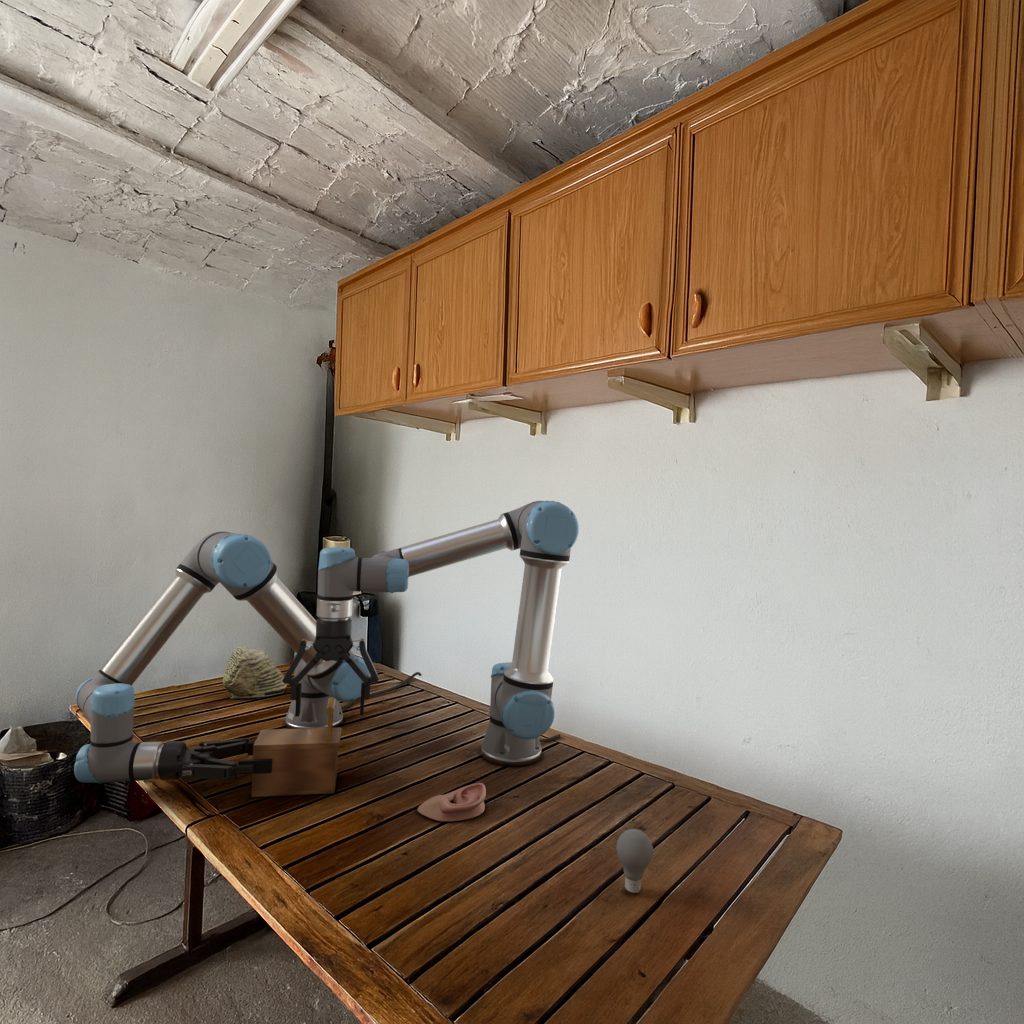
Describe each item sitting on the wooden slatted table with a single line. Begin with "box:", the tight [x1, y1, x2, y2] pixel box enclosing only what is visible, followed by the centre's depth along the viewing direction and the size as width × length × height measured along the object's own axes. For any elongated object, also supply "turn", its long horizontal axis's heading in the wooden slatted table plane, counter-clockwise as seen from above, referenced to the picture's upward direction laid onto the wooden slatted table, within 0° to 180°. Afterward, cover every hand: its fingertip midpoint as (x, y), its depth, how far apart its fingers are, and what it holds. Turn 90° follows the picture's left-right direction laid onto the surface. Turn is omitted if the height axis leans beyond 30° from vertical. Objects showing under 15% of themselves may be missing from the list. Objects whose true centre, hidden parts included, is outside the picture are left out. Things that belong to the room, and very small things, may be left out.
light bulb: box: [615, 828, 654, 894], centre depth 106 cm, size 6×6×10 cm
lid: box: [253, 697, 343, 751], centre depth 138 cm, size 17×9×8 cm, turn 102°
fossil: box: [222, 646, 288, 699], centre depth 198 cm, size 9×18×15 cm, turn 132°
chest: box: [250, 748, 339, 798], centre depth 138 cm, size 17×9×10 cm, turn 102°
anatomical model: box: [417, 782, 487, 822], centre depth 131 cm, size 13×4×12 cm
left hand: (275, 756), depth 137 cm, fingers closed on chest, 9 cm apart
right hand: (330, 714), depth 139 cm, fingers open, 13 cm apart
